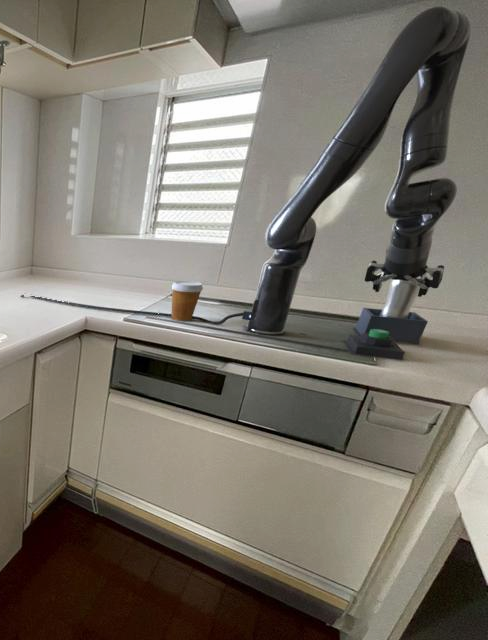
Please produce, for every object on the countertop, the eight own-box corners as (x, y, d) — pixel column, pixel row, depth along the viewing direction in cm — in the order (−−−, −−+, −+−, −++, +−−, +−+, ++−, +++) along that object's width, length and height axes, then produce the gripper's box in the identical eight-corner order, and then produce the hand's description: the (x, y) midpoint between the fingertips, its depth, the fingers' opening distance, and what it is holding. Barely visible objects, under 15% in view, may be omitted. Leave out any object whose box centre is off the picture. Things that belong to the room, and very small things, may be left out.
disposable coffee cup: (166, 320, 135) (173, 284, 130) (165, 314, 143) (171, 280, 138) (198, 323, 132) (205, 286, 127) (195, 316, 140) (202, 281, 135)
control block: (354, 354, 103) (359, 339, 102) (346, 342, 113) (351, 328, 111) (401, 360, 99) (407, 345, 98) (389, 347, 108) (394, 333, 107)
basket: (363, 338, 116) (371, 315, 114) (355, 328, 125) (363, 307, 123) (418, 344, 111) (428, 321, 108) (405, 334, 120) (415, 312, 117)
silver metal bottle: (370, 329, 122) (396, 261, 114) (400, 333, 118) (429, 263, 110) (371, 334, 117) (398, 264, 109) (403, 339, 113) (433, 266, 105)
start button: (369, 338, 104) (372, 331, 103) (366, 334, 107) (369, 328, 106) (388, 340, 102) (390, 333, 102) (384, 336, 105) (387, 330, 104)
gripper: (456, 240, 94) (441, 284, 105) (375, 237, 104) (370, 277, 115) (443, 265, 93) (430, 307, 104) (363, 260, 103) (359, 298, 114)
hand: (398, 291), depth 110 cm, fingers open, 8 cm apart
